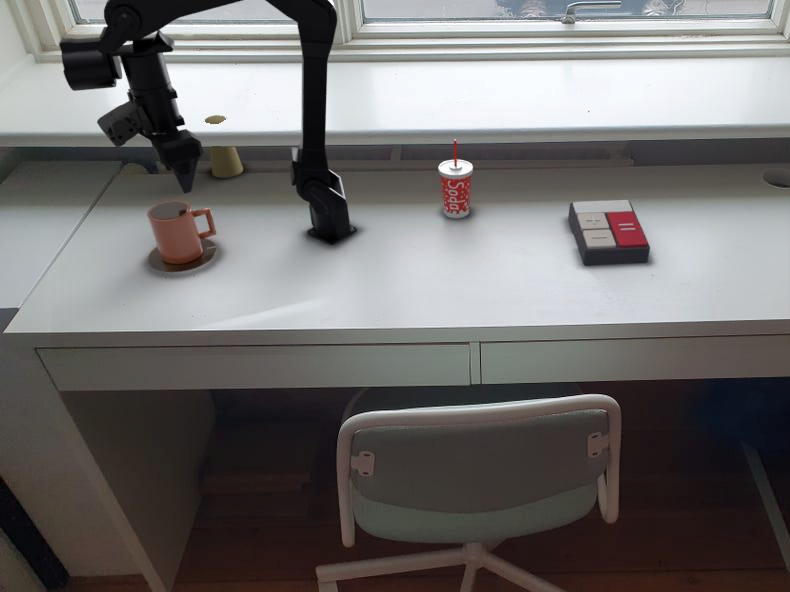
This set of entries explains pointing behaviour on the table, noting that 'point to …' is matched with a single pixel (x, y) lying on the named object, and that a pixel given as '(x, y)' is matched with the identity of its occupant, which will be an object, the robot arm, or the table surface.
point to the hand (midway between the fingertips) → (178, 180)
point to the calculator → (608, 232)
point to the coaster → (161, 265)
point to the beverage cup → (456, 185)
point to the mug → (178, 230)
